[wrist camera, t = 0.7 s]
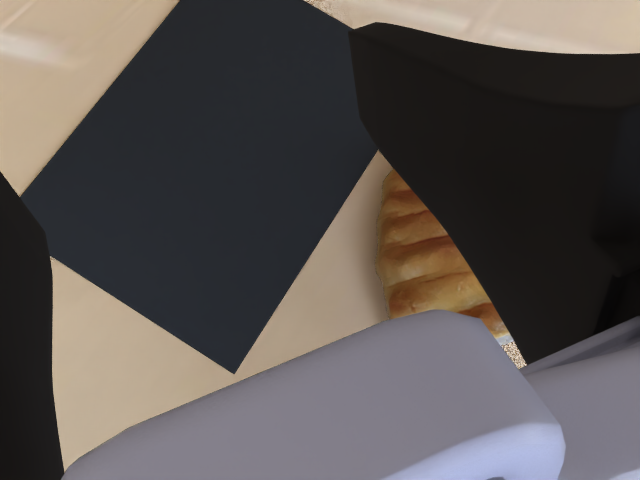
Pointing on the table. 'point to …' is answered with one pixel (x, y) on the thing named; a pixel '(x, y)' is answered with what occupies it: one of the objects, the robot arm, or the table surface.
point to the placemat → (210, 169)
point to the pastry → (425, 263)
